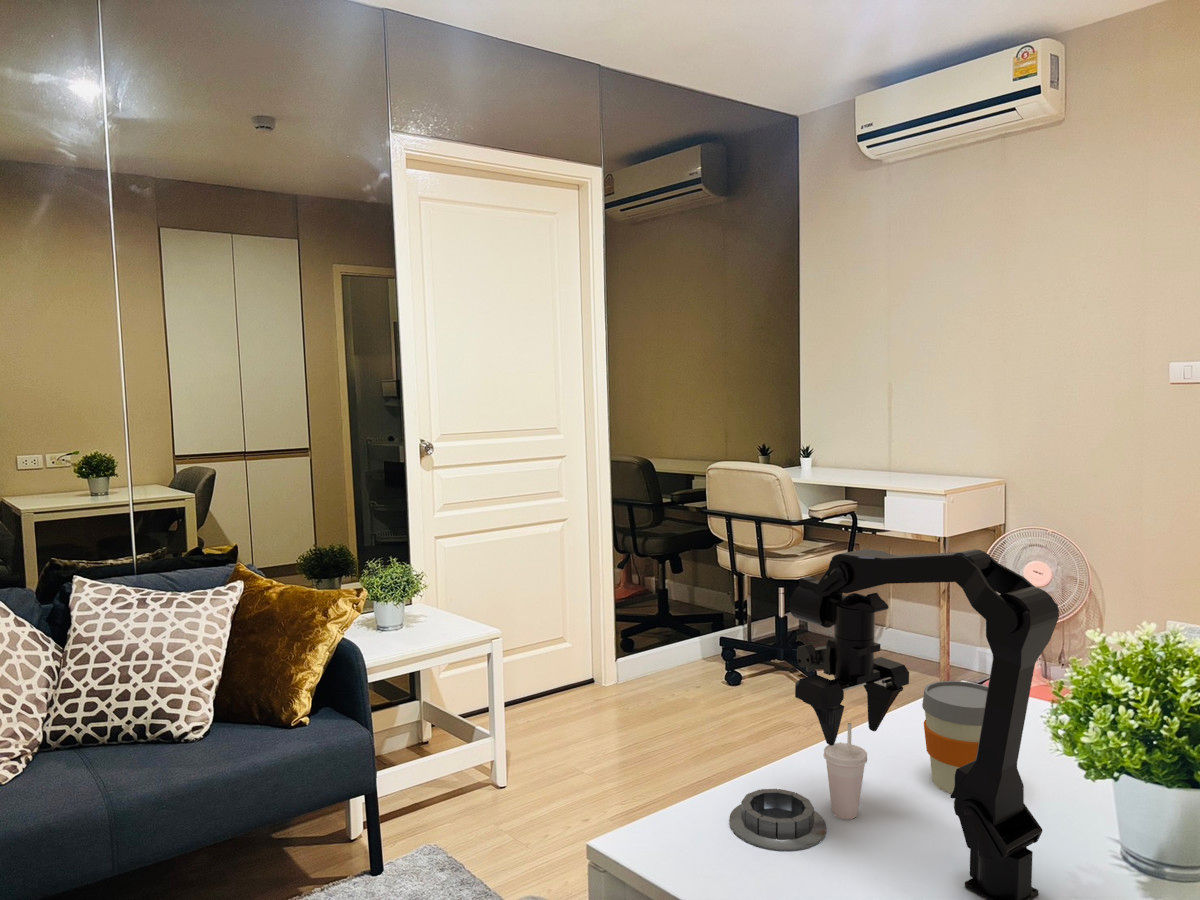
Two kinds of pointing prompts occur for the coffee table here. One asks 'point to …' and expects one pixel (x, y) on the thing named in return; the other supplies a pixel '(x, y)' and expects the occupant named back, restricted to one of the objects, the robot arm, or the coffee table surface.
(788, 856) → the coffee table surface
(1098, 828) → the coffee table surface
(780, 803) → the mount
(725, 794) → the coffee table surface
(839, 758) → the smoothie
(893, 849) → the coffee table surface
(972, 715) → the reusable coffee cup
